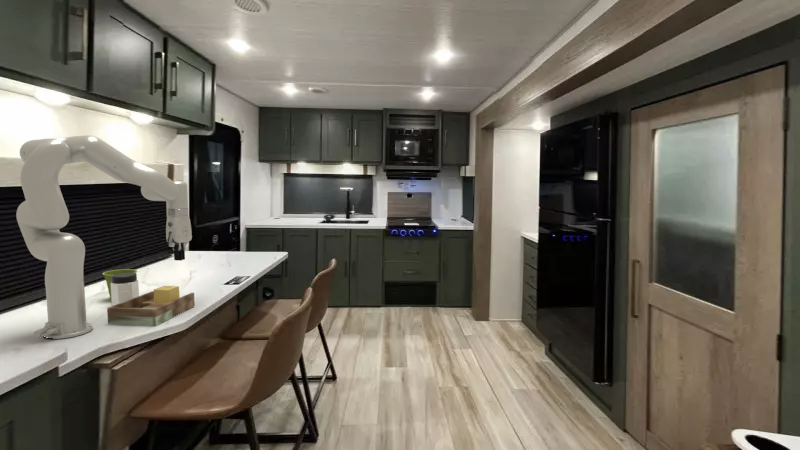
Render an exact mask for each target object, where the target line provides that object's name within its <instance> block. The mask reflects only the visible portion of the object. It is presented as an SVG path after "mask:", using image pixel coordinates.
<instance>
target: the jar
mask: <svg viewBox="0 0 800 450" xmlns="http://www.w3.org/2000/svg"><path fill="white" fill-rule="evenodd" d="M139 287H140V286H139V280H138V276H137V272H136V273H120V274H115V275H112V283H111V299H110V301H111V306H114V305H117V304H119V303H122V302H125V301H127V300H130V299H133V298H135V297H138V296H140V291H139V290H140V289H139Z"/></svg>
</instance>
